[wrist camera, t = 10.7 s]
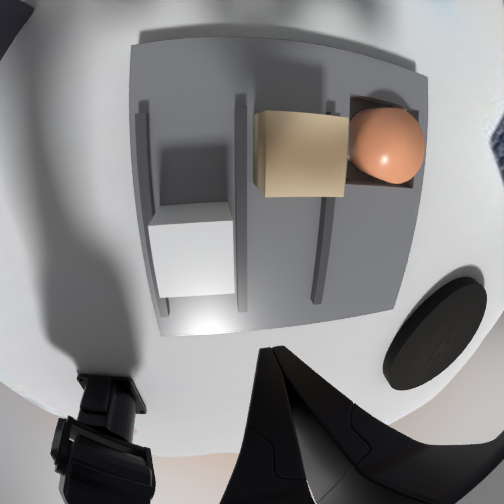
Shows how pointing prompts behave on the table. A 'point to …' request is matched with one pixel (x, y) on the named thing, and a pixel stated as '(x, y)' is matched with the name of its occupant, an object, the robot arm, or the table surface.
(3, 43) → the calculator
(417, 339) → the wireless charger
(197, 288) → the white cube
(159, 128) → the grey railed board
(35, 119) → the table surface
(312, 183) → the beech slider
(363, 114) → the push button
